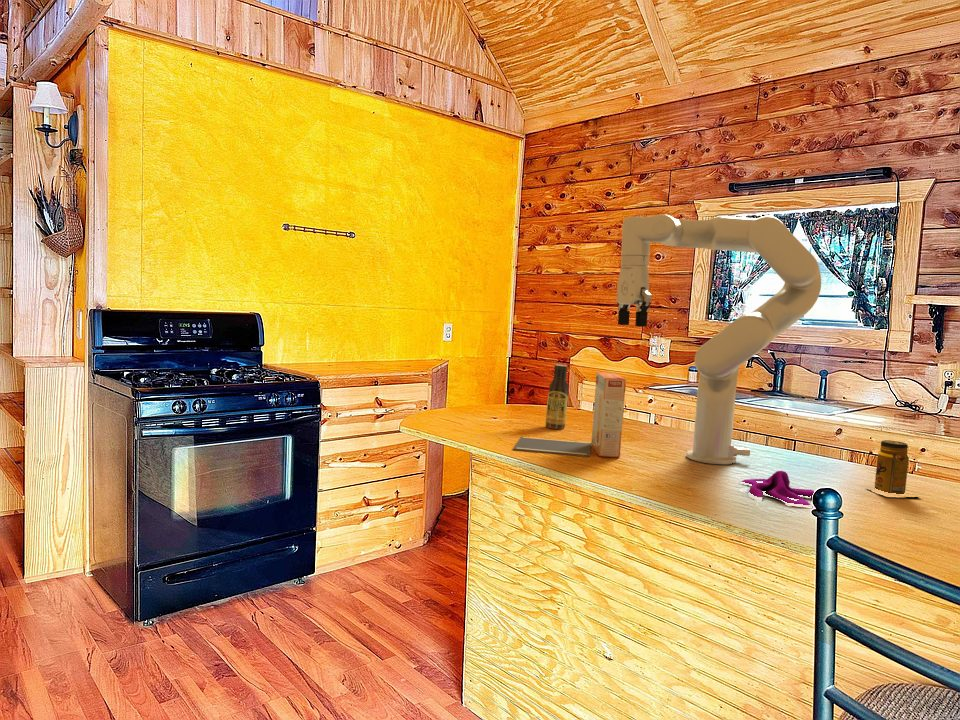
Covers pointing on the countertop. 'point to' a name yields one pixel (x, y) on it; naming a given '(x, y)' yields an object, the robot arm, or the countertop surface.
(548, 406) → the sauce bottle
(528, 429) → the countertop surface
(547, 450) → the mat
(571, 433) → the countertop surface
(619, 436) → the cracker box
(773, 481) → the cloth
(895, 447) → the condiment
